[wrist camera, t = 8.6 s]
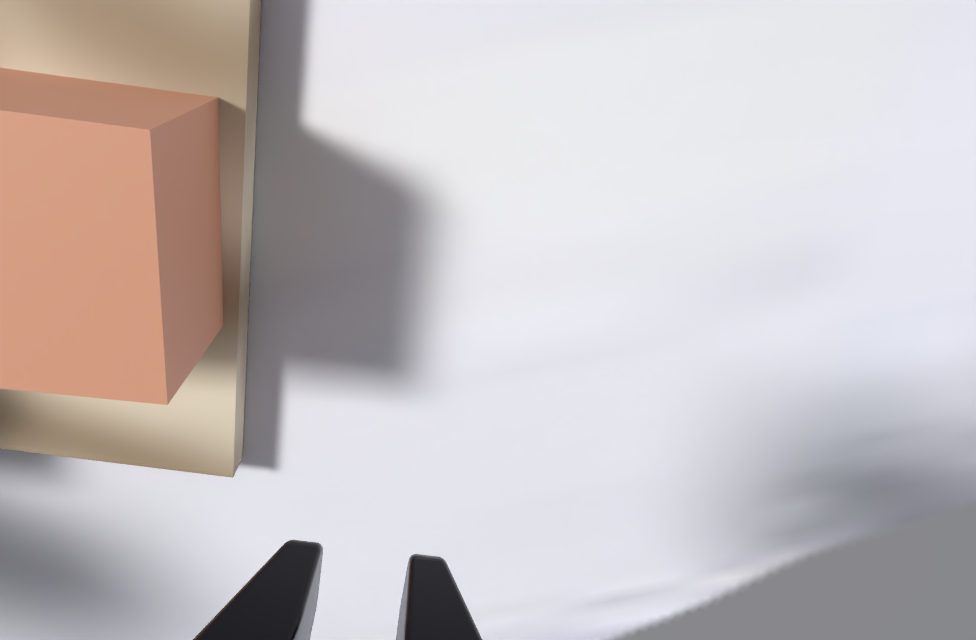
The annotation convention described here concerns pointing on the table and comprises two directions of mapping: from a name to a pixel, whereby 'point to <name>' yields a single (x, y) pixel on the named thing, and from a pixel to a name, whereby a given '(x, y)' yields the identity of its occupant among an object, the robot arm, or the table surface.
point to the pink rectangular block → (106, 236)
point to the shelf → (234, 80)
